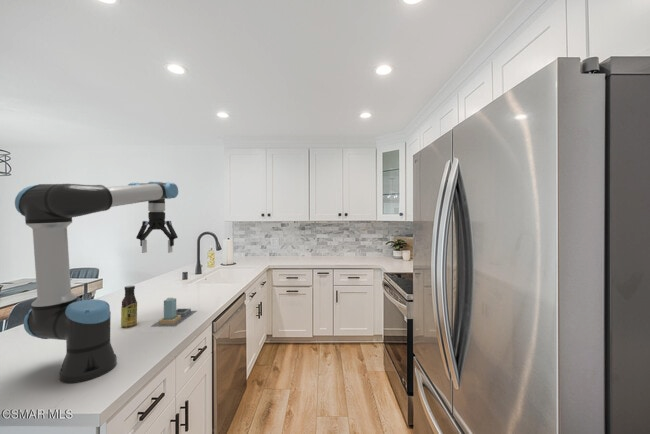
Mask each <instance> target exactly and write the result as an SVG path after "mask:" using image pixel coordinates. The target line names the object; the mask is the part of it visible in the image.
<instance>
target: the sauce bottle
mask: <svg viewBox="0 0 650 434" xmlns="http://www.w3.org/2000/svg"><path fill="white" fill-rule="evenodd" d="M135 289H136V286H135V285H127V286H124V297H123V299H122V300H121V307H120V308H121V309H120V310H121V311H120V313H121V314H120V315H121V317H120V318H121V319H120V326H121V327H120V328H121V329H131V328H133V327H135V326H137V324H138V301H137V299H136V296H135Z"/></svg>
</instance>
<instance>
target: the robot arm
mask: <svg viewBox="0 0 650 434" xmlns="http://www.w3.org/2000/svg"><path fill="white" fill-rule="evenodd" d="M178 195H179V188H178V186H177V184H176V183H174V182H169V181H168V182H163V181H156V180H155V181H152V180H151V181H149V182H147V183H144V182H141V183H140V182H131V183H128V184H127V185H118V186H105V185H103V184H81V183H80V184H79V183H44V184H43V183H42V184H41V183H39V184H33V185H29V186H25V187H23V188H22V190H20V191H19V192H18V193H17V195H16V196H15V199H14V206H15V207H14V208H15V209H16V211H17V212H18V213H19V214H20V215H21V216H23V217H24V220H25V226H28V227H29V228H31V229H32V237H33V238H32V240H33V241H32V243H33V255H34V257H33V258H34V270H35V283H36V285H35V286H36V299H35V300H34V301H33V302H31V304H30V305H31V306H30V307H31V308H30V309H29V310H28V313H27V314H26V315H25V316H24V319H23V327H24V330H25V332H26V333H27V334H28V335H30V336H31V337H34V338H37V339H41V340H60V341H61V340H62V341H65V343H66V346H65V347H66V354H65V357H64V358H63V362H62V364H61V367H60V370H59V372H58V373H59V374H58V378H59V381H60V382H62V383H66V384H67V383H68V384H69V383H70V384H72V383H79V382H85V381H89V380H92V379H95V378H98V377H100V376H103V375H105V374H107V373H108V372H110V371H111V370H113V369H114V368H115V367H116V365H117V362H118V361H117V358H118V357H117V355H116V354H115V350H114V348H113V346H112V343H111V316H112V315H111V307H110V303H108V302H107V301H105V300H103V299H102V300H101V299H83V300H78V295H77V294H75V293H73V292H72V287H71V286H72V285H71V271H70V268H71V267H70V258H69V239H68V226H70V225H71V224H72V223H73V218H77V217H81V216H86V215H91V214H95V213H101V212H106V211H109V210H110V209H111V208H112V207H118V206H125V205H126V206H127V205H133V204H138V203H146V202H147V204H148V206H147V208H148V220H142V225H141V227H140V229H139V230H138V234H137V235H136V239H137V240H140V241H139V242H140V246H141V253H143V254H145V253H147V252H148V251H147V250H148V249H147V248H148V247H147V245H148V242H147V237H149V235H150V234H151V232H152V231H154V230H160V231H161V232H163V234H164V235H165V236H166V237H167V238H168V240H167V253H168V254H171V253H173V246H174V245H175V240H176V239H178V234H177V233H176V231H175V229H174V227H173V225H172V224H173V223H172V220H166V199H167V200H170V199H175V198H177V197H178Z"/></svg>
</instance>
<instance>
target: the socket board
mask: <svg viewBox="0 0 650 434" xmlns="http://www.w3.org/2000/svg"><path fill="white" fill-rule="evenodd" d="M196 312H198V310H192V308H176V318H174V319H173V320H164V316H163V317H162V318H160V319H159V320H158V321H157V322H155V323H154V324H152V325H150V327H152V328H153V327H159V328H160V327H163V328H164V327H167V328H169V327H177V326H178V325H180V324H181V323H183V322H184V321H185V320H187V319H188V318H190V317H191V316H192V315H194V314H196Z"/></svg>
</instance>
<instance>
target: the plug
mask: <svg viewBox="0 0 650 434" xmlns="http://www.w3.org/2000/svg"><path fill="white" fill-rule="evenodd" d="M176 310H177V298H174V297H167V298H166V299H164V300H163V317H164V320H173V319H174V318H176Z"/></svg>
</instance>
